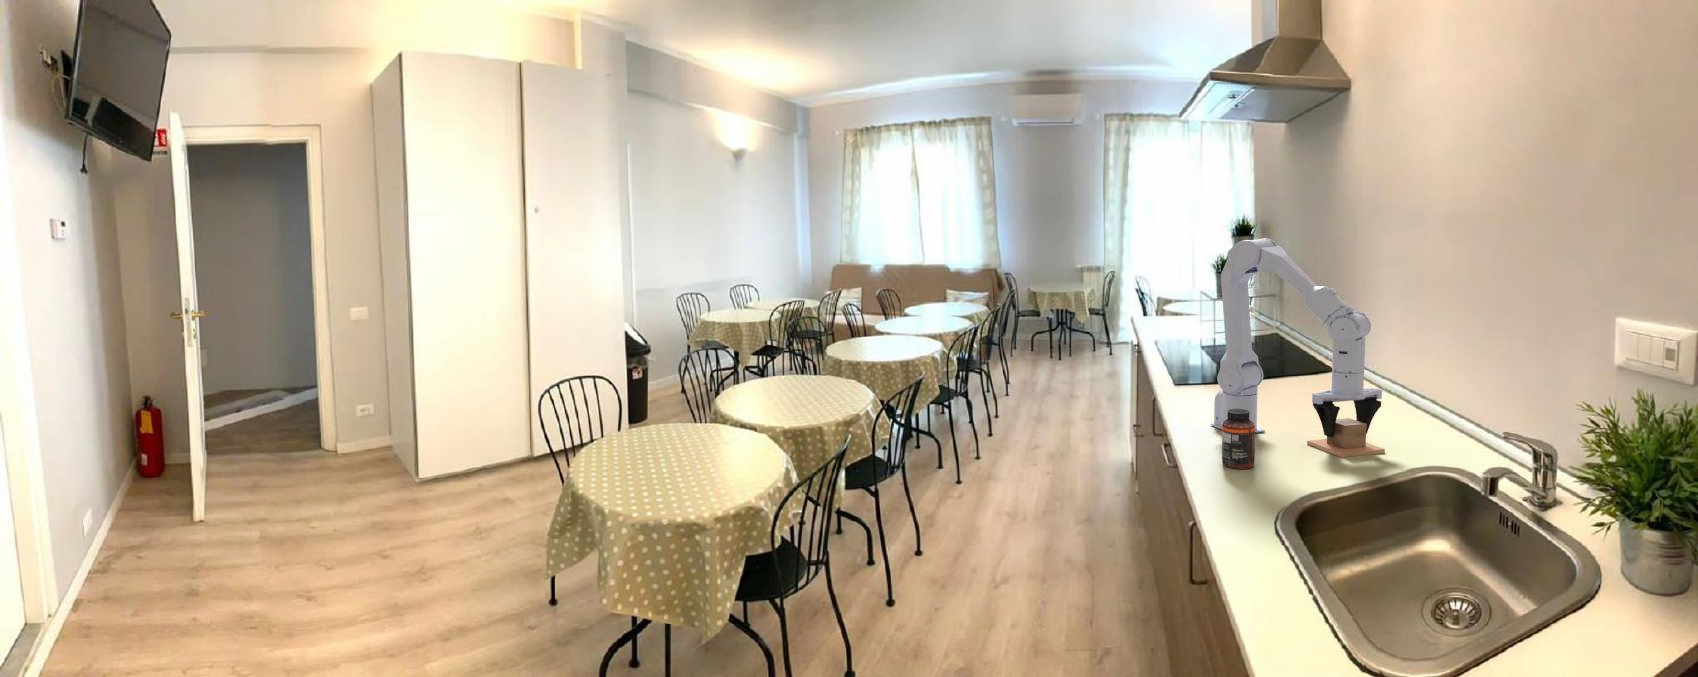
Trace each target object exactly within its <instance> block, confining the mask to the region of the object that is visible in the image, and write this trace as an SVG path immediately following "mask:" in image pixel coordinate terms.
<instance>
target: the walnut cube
mask: <svg viewBox="0 0 1698 677" xmlns="http://www.w3.org/2000/svg"><path fill="white" fill-rule="evenodd" d="M1366 426H1367V424H1366V423H1363V422H1360V421H1356V419H1353V418H1350V417H1345V418H1336V425H1335V435H1334V437H1328V436H1326V439H1327V443H1328V444H1331V445H1334V446H1336V447H1339V448H1342V449H1351V448H1362V447H1366V443H1367V434H1366Z"/></svg>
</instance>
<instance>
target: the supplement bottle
mask: <svg viewBox="0 0 1698 677" xmlns="http://www.w3.org/2000/svg"><path fill="white" fill-rule="evenodd" d="M1227 417H1228V419H1227V420H1225V421H1224V422H1223V424H1222V429H1221V432H1222V433H1221V436H1222V437H1221V440H1222V441H1221V442H1222V443H1221V459H1222V460H1221V462H1222V465H1223V466H1224V467H1227V468H1230V469H1236V470H1247V469H1251V468H1253V467H1254V466H1255V455H1256V453H1255V451H1256V450H1255V449H1256V448H1255V440H1256V439H1255V438H1256V437H1255V436H1256V433H1255V425H1254V423H1253V422H1252V421H1250V420H1249V417H1250V416H1249V411H1248V410H1245V409H1230V410H1228V415H1227Z"/></svg>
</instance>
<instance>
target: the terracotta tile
mask: <svg viewBox="0 0 1698 677" xmlns="http://www.w3.org/2000/svg"><path fill="white" fill-rule="evenodd" d="M1306 442H1307V443H1306V445H1308V446H1309V447H1310V446H1311V447H1313V448H1316V449H1318V450H1321V451H1324V452H1326V453H1329V454H1331V455H1335V456H1336V457H1339V458H1344V457H1345V458H1346V457H1347V458H1348V457H1355V456H1365V455H1375V454H1376V455H1377V454H1384V453H1386V449H1385V448H1383V447H1380V446H1377V445H1374V444H1372V443H1368V442H1366V447H1362V448H1351V449H1342V448H1339V447H1336V446H1334V445H1331V444H1328V443H1327V438H1323V439H1312V440H1310V439H1309V440H1307V441H1306Z"/></svg>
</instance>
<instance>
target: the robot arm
mask: <svg viewBox="0 0 1698 677" xmlns="http://www.w3.org/2000/svg"><path fill="white" fill-rule="evenodd" d="M1225 261H1226V262H1225V264H1224V266H1223V269H1222V271H1221V273H1220V282H1221V284H1220V286H1221V295H1222V296H1221V297H1222V309H1223V310H1222V312H1223V321H1224V322H1223V325H1224V337H1225V338H1224V340H1225V341H1224V342H1225V353H1224V354H1223V356H1222V357H1221V359H1220V362H1219V364H1220V367H1219V368H1220V369H1219V371H1218V373H1217V377H1216V378H1217V384H1218V387H1219V388H1221V389H1220V390H1219V391H1218V392H1217V393H1216V394H1215V397H1214V409H1213V410H1214V412H1213V413H1214V414H1213V415H1214V416H1213V421H1214V422H1211V423H1210V425H1211V426H1212V427H1215V428H1217V429H1219V430H1222V424H1223V422H1224V421H1225V420H1227V419H1228V417H1227V415H1228V410H1230V409H1245V410H1248V411H1249V416H1250V417H1249V420H1250V421H1252V422H1253V423H1254V425H1255V434H1256V433H1265V432H1266V429H1264V428H1262V427H1259V426H1257V425H1258V421H1257V420H1258V386H1259V385H1261V384H1262V382H1263V380H1264V371H1263V368H1262V367H1261V365H1260V363H1259V362H1260V361H1259V356H1258V355H1257V353H1255V351H1254V350H1253V346H1252V342H1253V341H1252V328H1251V316H1250V314H1251V313H1250V303H1249V301H1250V300H1249V288H1248V282H1249V281H1250V280H1251V278H1253V277H1254V276H1255V275H1256V274H1257V273H1258V272H1259V271H1262V272H1263V271H1264V272H1270V273H1275V274H1276V275H1277V276H1279V277H1280V278H1281V279H1282V280H1284V282H1286V283H1287V284H1288V285H1289V286H1290V287H1292V288H1293V289H1294V290H1295V291H1297V293H1299V294H1300V295H1301V296H1302V297H1303V305H1304V307H1306V308H1307V309H1308V311H1310V312H1311V313H1312V314H1313V315H1314V316H1315V317H1316V318H1317V319H1318V320H1319V321H1320V322H1321V323H1322V324H1324V325H1325V326H1326V327H1327V332H1328V335H1329V337H1330V338H1331V339H1332V341H1333V342H1332V343H1333V344H1332V345H1333V346H1332V366H1331V367H1332V368H1331V369H1332V370H1331V389H1330V390H1325V391H1320V392H1315V393H1312V395H1311V399H1312V400H1311V403H1312V406H1313V409H1314V410H1315V411H1316V413H1317V416H1318V417H1319V420H1320V423H1321V426H1322V429H1323V430H1322V432H1323V435H1324V436H1325V437H1327V436H1328V437H1334V435H1335V425H1336V419H1338V414H1339V411H1340V409H1341V407H1339V406H1337V405H1335V403H1338V402H1340V403H1341V402H1350V401H1353V404H1354V408H1355V415H1356V419H1355V420H1356V421H1360V422H1363V423H1366V424H1367V426H1366V435H1367V434H1368V432H1369V430H1370V426H1371V424H1372V421H1373V419H1374V417H1375V415H1376V413H1377V412H1378V410H1379V409H1380V408H1381V407H1382V401H1381V400H1382V397H1383V390H1382V389H1380V388H1375V387H1373V388H1364V385H1365V384H1364V382H1365V362H1366V361H1365V360H1366V336H1368V335H1369V333H1370V332H1371V330H1372V329H1371V326H1372V325H1371V321H1370V319H1369V317H1367V316H1366V315H1367V314H1366V313H1364V312H1361V311H1355V307H1354V306H1352V305H1348V304H1347V303H1346V302H1345V301H1344V300H1342V299H1341V298H1340V297H1339V296H1338V295H1337V293H1338V291H1337V290H1336V289H1335V288H1334V287H1332V288H1329V286H1327V285H1325V286H1323V285H1321V286H1320V285H1317V284H1316V283H1315V281H1313V280H1312V279H1311V278H1310V277H1309V275H1308V274H1306V272H1304V271H1303V269H1302V268H1300V266H1299V265H1297V263H1296V262H1294V260H1293V259H1292V258H1291V257H1290V255H1288V254H1287V252H1286V251H1285V249H1284V248H1283V247H1281V245H1280V246H1279V245H1278V244H1277V243H1276V242H1275V241H1274V240H1272V239H1271V238H1269V237H1263V238H1258V239H1249V240H1248V239H1246V240H1245V239H1244V240H1240V241H1237V242H1236V244H1234V245H1233V246H1232V247H1231V248H1230V249H1228V251H1227V259H1226V260H1225Z"/></svg>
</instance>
